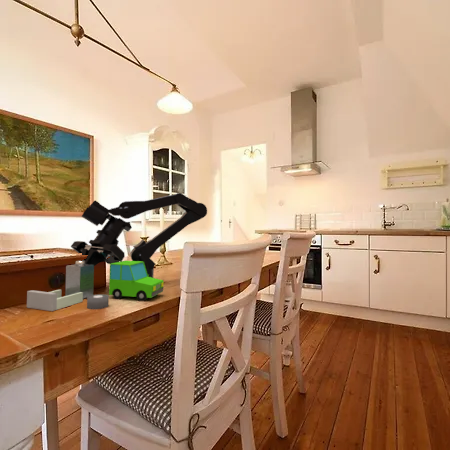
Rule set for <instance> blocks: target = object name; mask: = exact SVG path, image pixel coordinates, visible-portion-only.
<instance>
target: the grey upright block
mask: <svg viewBox="0 0 450 450" xmlns="http://www.w3.org/2000/svg"><path fill="white" fill-rule="evenodd" d="M94 277H95V266H94V265H91V264H85V261H81V260H76V261H75V264H71V265H69V264H68V265H66V266H65V292H64V293H65V295H64V296H68V295H71V294H75V293H79V292H83V300H84V299H87V297H88V296H91V295H94V287H95V286H94V281H95V278H94Z"/></svg>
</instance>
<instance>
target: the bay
mask: <svg viewBox="0 0 450 450" xmlns="http://www.w3.org/2000/svg"><path fill="white" fill-rule="evenodd" d="M83 301H84V299H83V292H79V293H75V294H71V295H68V296H65V295H64V296H62V289H56V290H52V291H48V292H47V291H41V290H33V289H32V290H27V291H26V308H27V309H35V310H42V311H48V312H54V311H56V310H57V311H58V310H61V309H64V308H66V307H70V306H72V305H76V304H79V303H82V302H83Z"/></svg>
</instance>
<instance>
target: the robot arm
mask: <svg viewBox="0 0 450 450" xmlns="http://www.w3.org/2000/svg"><path fill="white" fill-rule="evenodd" d="M176 205H177V206H178V207H179V208H181V209H182V210H183V211H184V213H182V215H181V216H180V217H179V218H178V219H176V220H175V221H174V222H173V223H171V224H170V225H169V226H167V227H166V228H164V229H163V230H161V231H160V232H159V233H157V234H156V235H155V236H154V237H152V238H151V239H149V240H148V241H146V240H145V239H141V240H140V241H139V242H138V244H136V245H133V246H132V247H133V249H131V250H130V254H129V255H130V259H131V261H143V262H144V265H145V268H146V271H147V274H148V275H149V276H148V277H152V278H154V271H155V270H154V269H155V268H154V267H155V266H156V263H155V262H154V261H153V260H152V257H153V255H154V254H155V252H156V251H157V250H158V249H159V248H160V247H161V246H163V245H164V244H166V243H167V242H168V241H169V240H171V239H172V238H173V237H174V236H176V235H177V234H178V233H179V232H181V231H183V230H184V229H185V228H186V227H188V226H189V225H191V224H193V223H195V222H198V221H200V220H202V219H203V218H205V217H206V216H207V214H208V208H207V205H206V204H204V203H202V202H197V201H195V200H194V199H193V198H190V197H188V196H186V195H184V194H183V193H182V192H177V193H175V194H171V195H170V194H169V195H166V196H161V197H157V198H151V199H147V200H130V201H129V200H128V201H123V202H121V203H120V204H119V205H118V206H117V207H114V208H113V207H112V208H110V209H108V207H105V206H103V205H102V204H100V202H99V201H97V200H93V202H92V203H91V204H90V205H89V206H88V207H86V209H85V210H84V211H83V212H82V215H81V218H83V219H84V220H86V221H87V222H90V223H91V224H92V225H94V226H96V227H98V226H99V225H100V226H103V225H104V224H105V225H104V226H103V227H102V229H97V230H96V231H95V232H96V234H97V235H96V236H95V238H94V239H90V240H89V241H88V243H89V244H88V243H87V242H86V241H81V240H77V241H76V240H75V241H73V243H71V245H70V247H71V248H72V250H74V251H75V252H76V253H78V254H79V253H82V255H88V256H87V258H86V259H84V260H82V261H85V264H91V265H94V267H95V266H97V265H98V264H100V263H103V262H104V263H107V265H110V264H111V263H116V262H121V261H124V259H125V251H123V250H122V248H120V247H119V239H118V238H119V237H120V236H121V234H122V233H123V231H126V232H130V231H131V229H132V224H131V221H125V220H124V219H126V220H128V219H131V218H134V217H136V216H138V215H140V214H144V213H146V212H149V211H153V210H158V209H163V208H166V207H172V206H176ZM116 216H118V217H119V218H118V217H116ZM120 217H121V218H120ZM112 256H113V257H112ZM108 257H110V258H108ZM107 258H108V259H107Z"/></svg>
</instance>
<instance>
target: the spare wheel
mask: <svg viewBox="0 0 450 450" xmlns="http://www.w3.org/2000/svg"><path fill="white" fill-rule="evenodd" d="M109 298H110V295H109V294H102V293H100V294H99V293H98V294H93V295H91V296H88V297H87V298H86V300H87V301H86V309H89V310H101V309H105V308H108V307H109V303H110V301H109Z"/></svg>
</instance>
